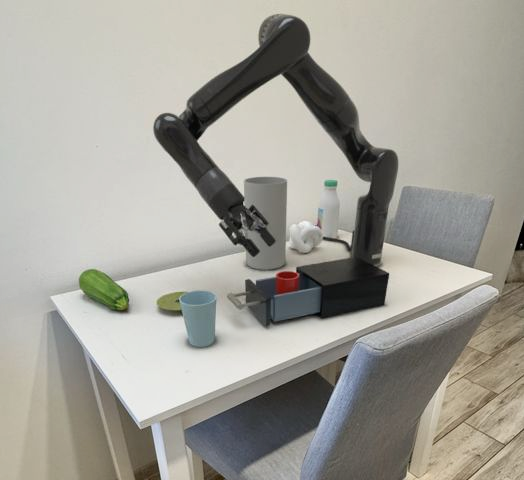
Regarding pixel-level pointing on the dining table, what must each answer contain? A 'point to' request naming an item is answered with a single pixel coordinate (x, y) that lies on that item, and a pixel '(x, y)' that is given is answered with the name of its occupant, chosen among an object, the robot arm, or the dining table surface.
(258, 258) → the cylinder vase
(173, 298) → the mat
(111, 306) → the vegetable
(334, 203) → the milk bottle
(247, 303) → the dish drawer
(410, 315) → the dining table surface
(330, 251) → the dining table surface
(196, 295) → the cup
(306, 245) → the white knot sculpture
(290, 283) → the red tumbler
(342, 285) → the black drawer casing
